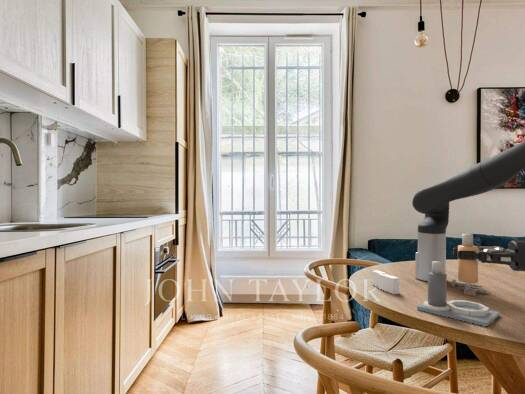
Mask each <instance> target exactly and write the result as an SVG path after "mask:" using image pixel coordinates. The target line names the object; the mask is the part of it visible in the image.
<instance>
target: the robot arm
mask: <svg viewBox="0 0 525 394" xmlns="http://www.w3.org/2000/svg"><path fill="white" fill-rule="evenodd" d="M524 170H525V139H524V140H522V141H521V142H519V143H517V144H515V145H514V146H512V147H509V148H508V149H505V150H503V151H501V152H499V153H497V154H495V155H493V156H491V157H489V158H487V159H484V160H482V161H480V162H478V163H475V164H473V165H471V166H470V167H468V168H466V169H465V170H462V171H461V172H459V173H456V174H455V175H452V176H451V177H449V178H447V179H446V180H444V181H441V182H439V183H436V184H433V185H431V186H427V187H426V188H425V187H424V188H423V189H420V190H417V192H416V193H415V194H414V195H413V198H412V207H413V208H414V210H415V211H417V212H418V213H420V214H423V215H424V218H423V220H422V221H421V222H420V223H419V224H418V225H417V252H415V256H414V257H415V271H414V272H415V277H414V278H415V279H418V280H421V281H425V282H428V272H432V261H439V262H442V273H446V272H447V228H448V225H449V222H450V221H449V218H450V202H453V201H456V200H460V199H465V198H471V197H474V196H479V195H481V194H484V193H488V192H490V191H493V190H496V189H497V188H500V187H502V186H504V185H506V184H508V183H509V182H510V181H511V180H513V179H514V178H515V177H516V176H517V175H518V174H519V173H521V172H522V171H524ZM452 256H454V257H457V260H458V259H461V260H475V259H476V261H478V263H479V262H480V263H482V264H493V265H494V264H497V265H506V266H508V267H509V268H510V270H512V271H514V272H523V273H525V240H511V241H509V242H508V245H507V248H506V249H505V248H504V247H501V246H496V245H494V246H491V245H490V246H486V245H485V246H478V250H477V251H476V253H475V251H464V250H459V251H458V247H453V248H452ZM446 274H447V273H446Z"/></svg>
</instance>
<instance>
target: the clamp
mask: <svg viewBox="0 0 525 394" xmlns="http://www.w3.org/2000/svg"><path fill="white" fill-rule="evenodd" d="M450 283H451V284H450V285H451V287H453V288H454V287H455V286H462V287H463V286H464V287H463V289H462V291H463V294H464V295H467V296H475V297H476V296H477V293H479V294H483V295H488V290H487V289H482V288H483V286H482V285H478V284H473V283H466V282H457V280H456V279H455V278H453V279H452V281H451V282H450ZM477 288H480V289H477Z"/></svg>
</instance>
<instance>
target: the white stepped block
mask: <svg viewBox="0 0 525 394" xmlns="http://www.w3.org/2000/svg"><path fill="white" fill-rule="evenodd" d="M372 284H374V285H376V286H378V287H377V289H378V288H379V289H378V290H380V289H382V290H381V291H383V290H384V291H383V292H386V291H387V292H386V293H388V292H389V293H388V294H391V293H392V295H399V294H400V278H399V277H398V276H397V277H396V276H393V275H390V274H388V273H387V272H384V271H381V270H378V269H377V270H371V285H372ZM376 286H375V287H376Z"/></svg>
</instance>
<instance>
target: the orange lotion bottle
mask: <svg viewBox="0 0 525 394" xmlns="http://www.w3.org/2000/svg"><path fill="white" fill-rule="evenodd" d="M461 240H462V241H461V244H459V245H457V248H458V251H459V250H464V251H475V253H476V251H477V250H478V247H479V246H477V245H474V234H471V233H462V234H461ZM457 279H458V281H459V282H460V283H465V282H466V283H471V284H478V283H479V262H478V261H476V259H475V260H461V259H458V258H457Z"/></svg>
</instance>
